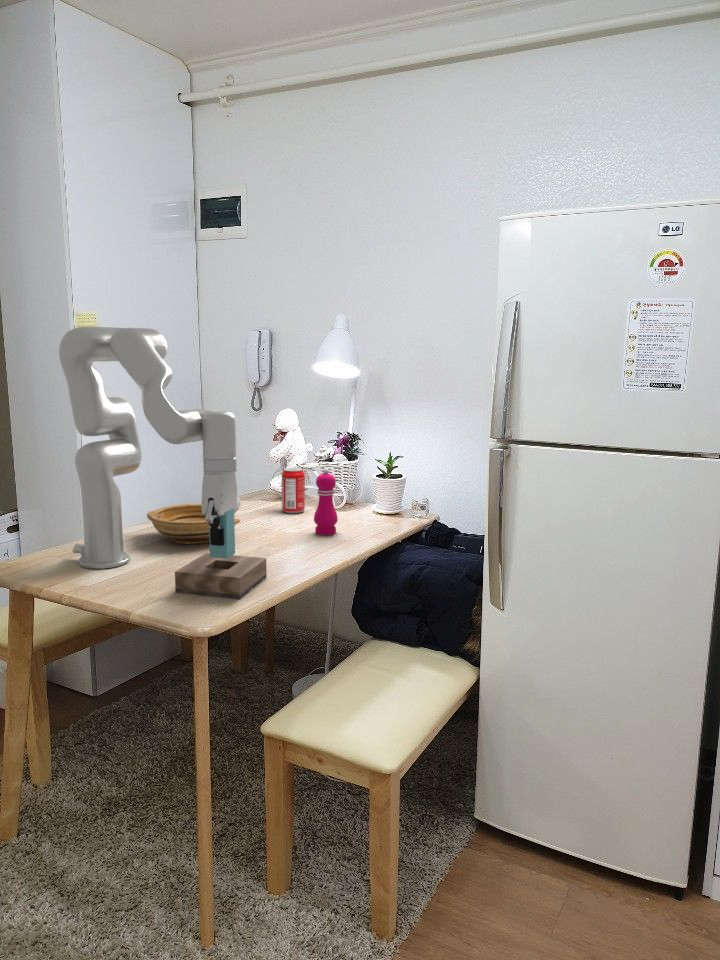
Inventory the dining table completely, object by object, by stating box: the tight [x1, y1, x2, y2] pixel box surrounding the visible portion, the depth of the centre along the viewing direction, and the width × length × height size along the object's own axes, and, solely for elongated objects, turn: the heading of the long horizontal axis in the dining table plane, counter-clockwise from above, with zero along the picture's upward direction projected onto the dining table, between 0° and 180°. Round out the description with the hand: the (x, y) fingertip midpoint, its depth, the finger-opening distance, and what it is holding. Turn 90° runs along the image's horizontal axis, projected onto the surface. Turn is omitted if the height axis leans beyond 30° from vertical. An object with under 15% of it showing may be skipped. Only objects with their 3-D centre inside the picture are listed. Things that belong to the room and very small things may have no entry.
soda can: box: [281, 467, 306, 515], centre depth 248 cm, size 8×8×15 cm
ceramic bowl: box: [146, 503, 241, 544], centre depth 213 cm, size 30×24×8 cm
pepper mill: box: [313, 467, 338, 536], centre depth 220 cm, size 7×7×20 cm
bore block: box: [174, 552, 268, 600], centre depth 172 cm, size 16×16×5 cm
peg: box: [208, 508, 236, 559], centre depth 171 cm, size 4×4×11 cm
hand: (222, 541), depth 171 cm, fingers closed on peg, 4 cm apart
